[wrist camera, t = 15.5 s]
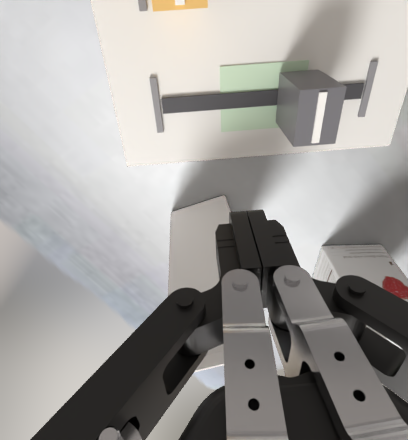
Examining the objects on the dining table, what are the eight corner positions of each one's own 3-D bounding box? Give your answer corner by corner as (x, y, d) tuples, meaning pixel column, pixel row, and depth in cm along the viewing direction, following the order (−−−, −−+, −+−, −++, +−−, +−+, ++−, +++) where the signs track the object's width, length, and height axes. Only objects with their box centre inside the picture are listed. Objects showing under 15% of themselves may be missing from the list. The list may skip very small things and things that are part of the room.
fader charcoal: (318, 69, 29) (347, 87, 24) (311, 119, 31) (335, 144, 26) (279, 72, 28) (300, 90, 24) (275, 121, 31) (293, 147, 26)
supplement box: (383, 242, 45) (457, 335, 33) (363, 285, 51) (420, 379, 39) (320, 243, 45) (373, 339, 33) (307, 287, 50) (347, 383, 38)
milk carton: (170, 211, 40) (165, 352, 24) (224, 193, 39) (255, 329, 23) (190, 250, 44) (196, 393, 29) (239, 236, 43) (273, 375, 28)
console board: (465, -159, 23) (490, -172, 21) (380, 138, 36) (391, 146, 34) (67, -134, 22) (57, -145, 20) (129, 158, 35) (126, 167, 33)
